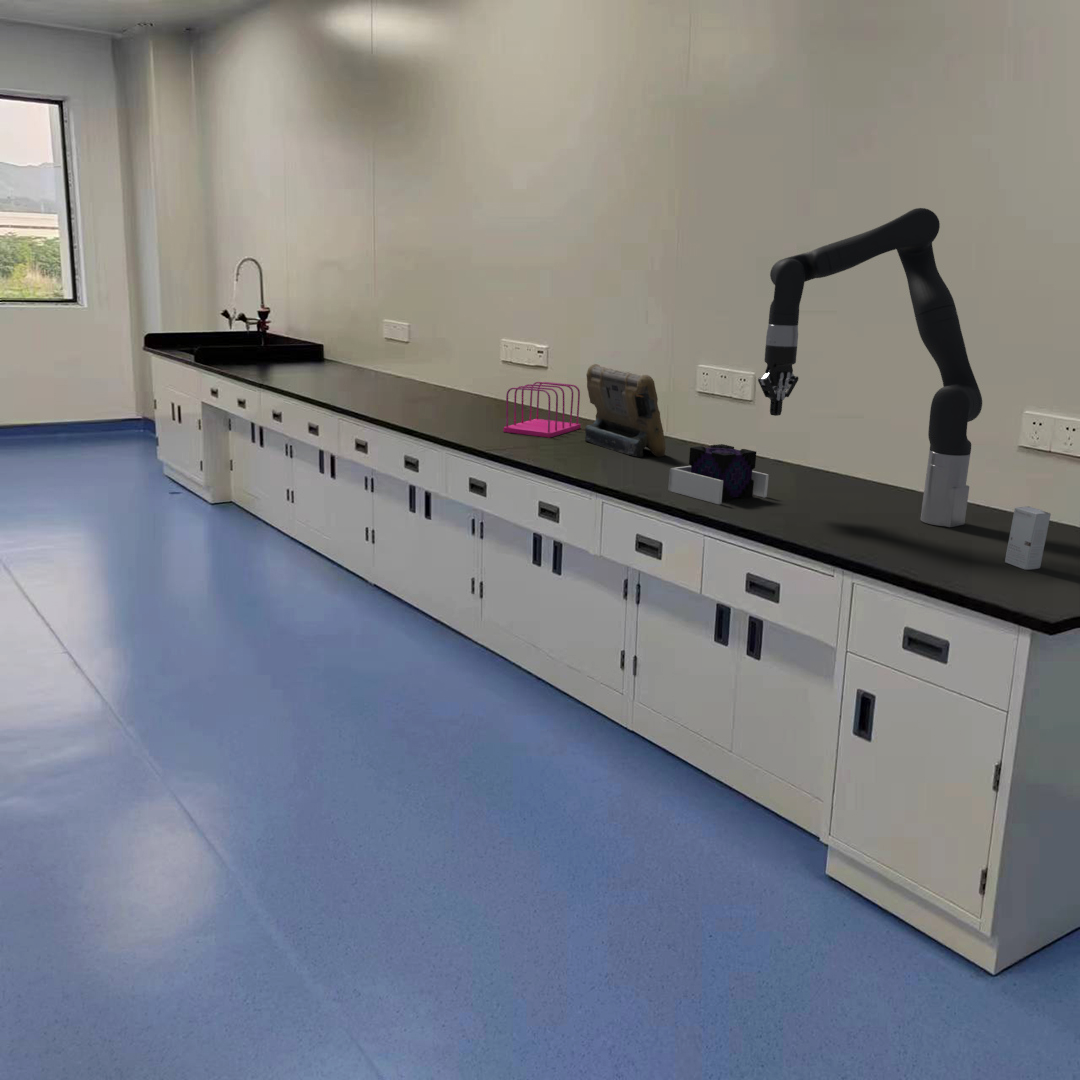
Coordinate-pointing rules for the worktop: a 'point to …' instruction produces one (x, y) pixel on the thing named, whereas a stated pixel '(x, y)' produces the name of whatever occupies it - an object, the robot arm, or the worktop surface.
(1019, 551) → the skincare box
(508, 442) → the worktop surface
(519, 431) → the file sorter
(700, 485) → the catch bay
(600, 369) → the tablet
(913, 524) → the worktop surface
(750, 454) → the energy cube
